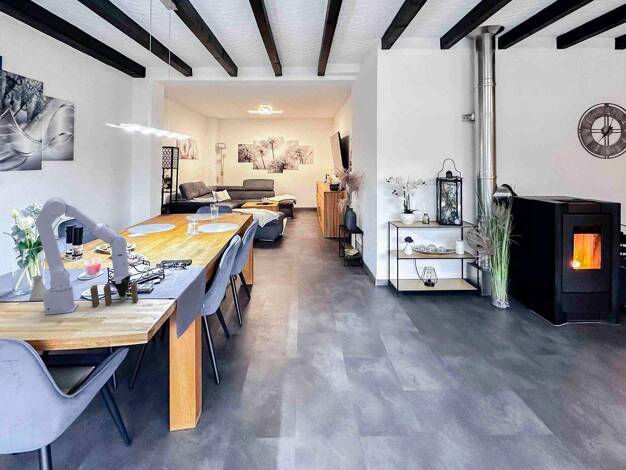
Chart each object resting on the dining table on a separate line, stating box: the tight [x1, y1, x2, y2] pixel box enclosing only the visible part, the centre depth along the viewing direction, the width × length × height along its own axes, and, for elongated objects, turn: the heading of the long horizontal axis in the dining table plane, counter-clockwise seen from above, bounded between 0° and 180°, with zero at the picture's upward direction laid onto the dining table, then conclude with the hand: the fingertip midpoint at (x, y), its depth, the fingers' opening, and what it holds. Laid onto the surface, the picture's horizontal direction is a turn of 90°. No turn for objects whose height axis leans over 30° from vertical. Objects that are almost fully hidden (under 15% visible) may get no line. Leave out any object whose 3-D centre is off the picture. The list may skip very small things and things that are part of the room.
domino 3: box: [120, 280, 128, 302], centre depth 157 cm, size 2×4×8 cm, turn 16°
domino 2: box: [103, 283, 113, 307], centre depth 151 cm, size 2×4×8 cm, turn 17°
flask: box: [29, 274, 48, 302], centre depth 157 cm, size 7×7×10 cm
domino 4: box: [130, 281, 139, 304], centre depth 154 cm, size 2×4×8 cm, turn 16°
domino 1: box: [89, 284, 100, 308], centre depth 150 cm, size 2×4×8 cm, turn 16°
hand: (123, 294), depth 157 cm, fingers closed on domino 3, 4 cm apart
